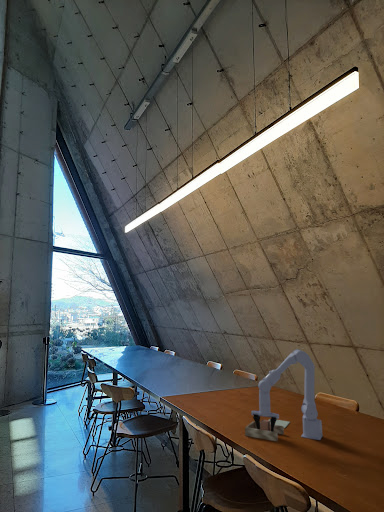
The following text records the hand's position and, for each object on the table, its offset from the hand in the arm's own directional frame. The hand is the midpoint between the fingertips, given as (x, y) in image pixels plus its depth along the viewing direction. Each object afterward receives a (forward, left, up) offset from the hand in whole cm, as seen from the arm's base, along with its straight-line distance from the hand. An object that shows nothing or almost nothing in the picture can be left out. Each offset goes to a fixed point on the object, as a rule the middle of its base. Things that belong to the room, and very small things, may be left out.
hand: (265, 431), depth 188 cm
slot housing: (0, 0, -2) cm, 2 cm away
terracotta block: (0, 0, -2) cm, 2 cm away
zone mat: (0, -22, -2) cm, 22 cm away
